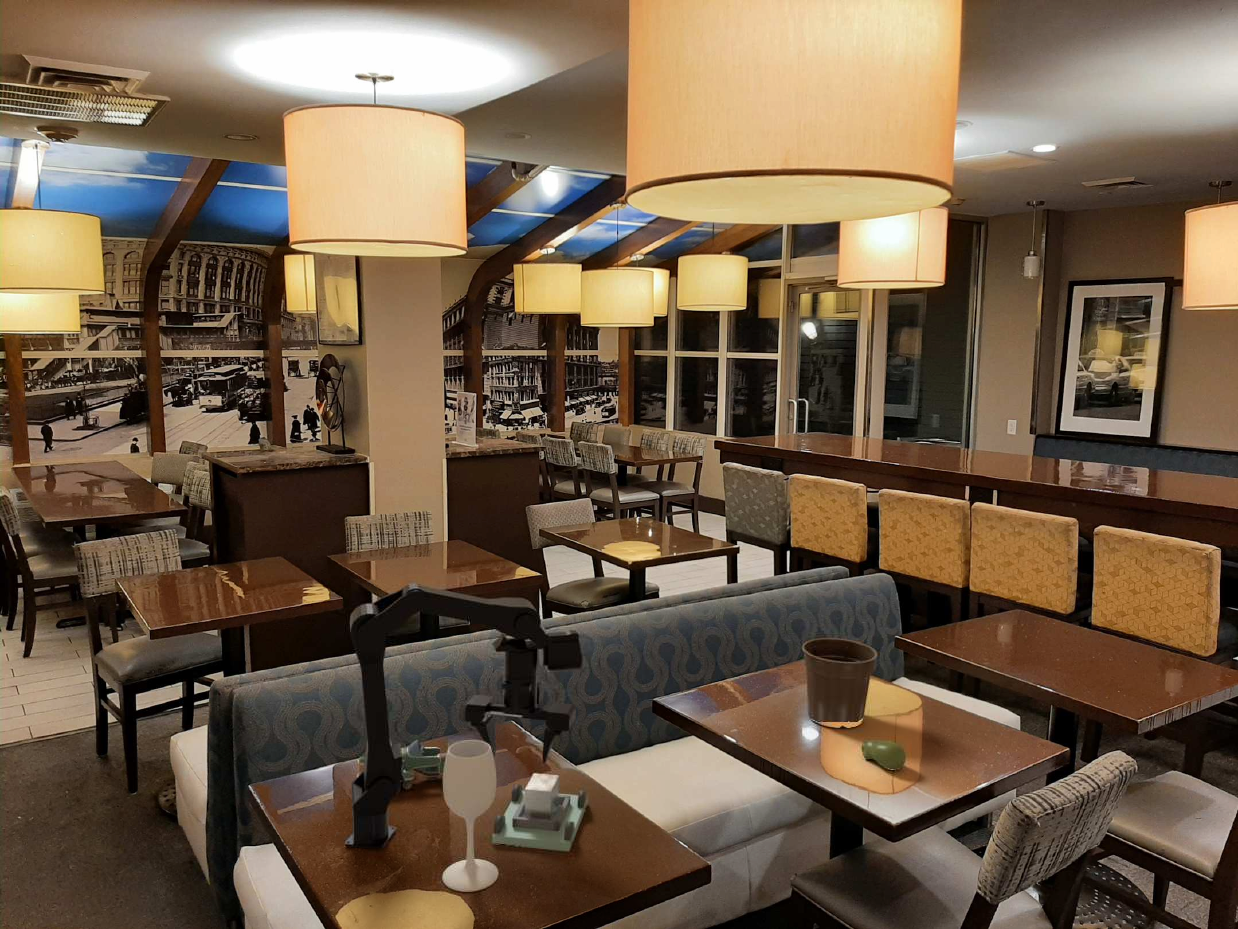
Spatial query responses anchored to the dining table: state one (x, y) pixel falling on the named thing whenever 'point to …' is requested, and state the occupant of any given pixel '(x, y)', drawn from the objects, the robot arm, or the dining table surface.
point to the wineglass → (469, 808)
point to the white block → (542, 796)
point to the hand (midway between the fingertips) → (519, 759)
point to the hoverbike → (417, 762)
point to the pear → (884, 753)
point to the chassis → (540, 823)
